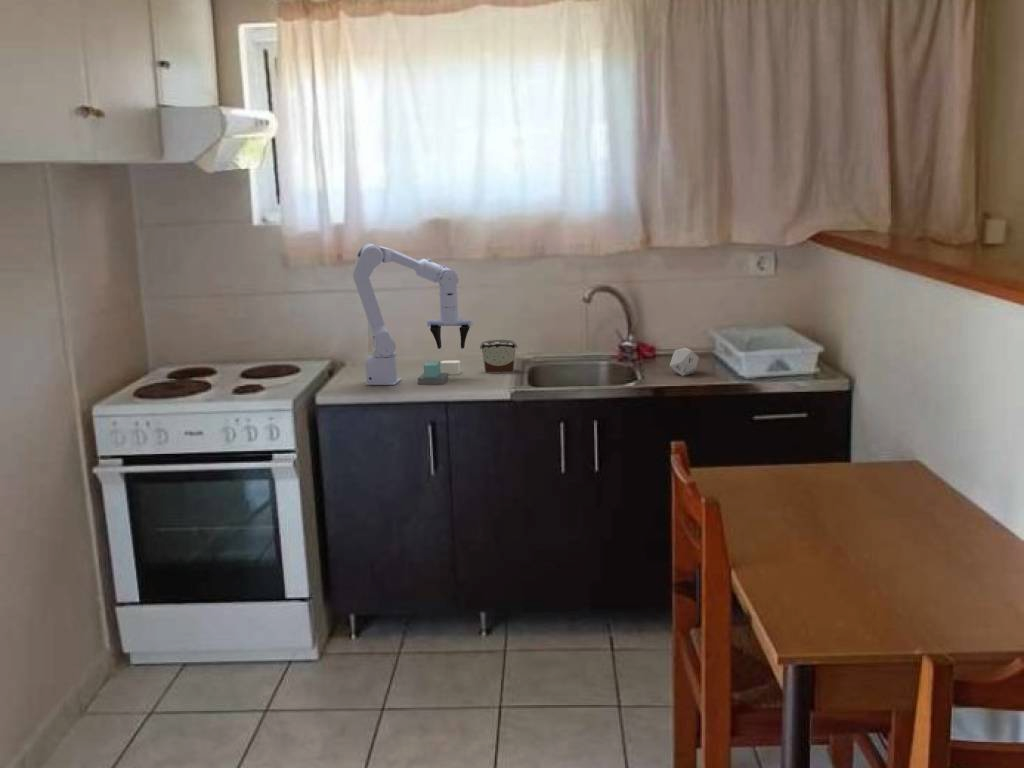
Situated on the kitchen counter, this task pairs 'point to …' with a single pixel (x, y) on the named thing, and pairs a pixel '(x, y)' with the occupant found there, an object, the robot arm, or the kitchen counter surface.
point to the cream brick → (450, 367)
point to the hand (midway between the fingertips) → (451, 348)
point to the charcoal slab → (433, 379)
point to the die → (684, 361)
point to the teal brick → (432, 369)
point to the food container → (498, 355)
